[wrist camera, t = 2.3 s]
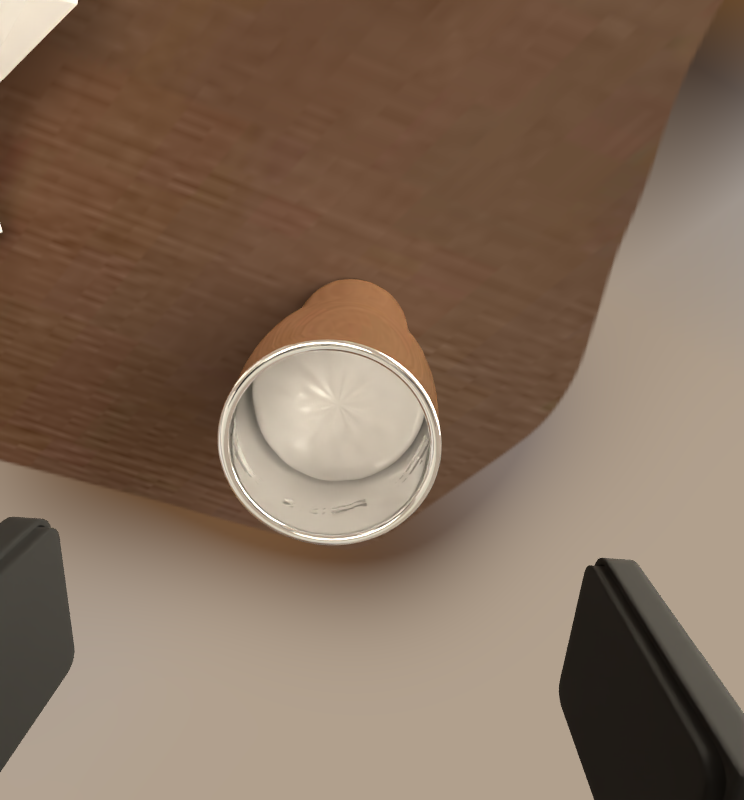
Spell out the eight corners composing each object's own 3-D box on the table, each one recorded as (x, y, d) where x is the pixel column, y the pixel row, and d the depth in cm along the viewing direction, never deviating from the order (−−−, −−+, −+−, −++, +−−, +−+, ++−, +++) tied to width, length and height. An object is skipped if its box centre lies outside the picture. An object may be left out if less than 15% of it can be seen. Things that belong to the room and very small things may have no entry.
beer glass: (425, 278, 29) (468, 347, 15) (407, 402, 32) (430, 563, 17) (292, 262, 29) (211, 317, 15) (284, 388, 31) (206, 539, 17)
